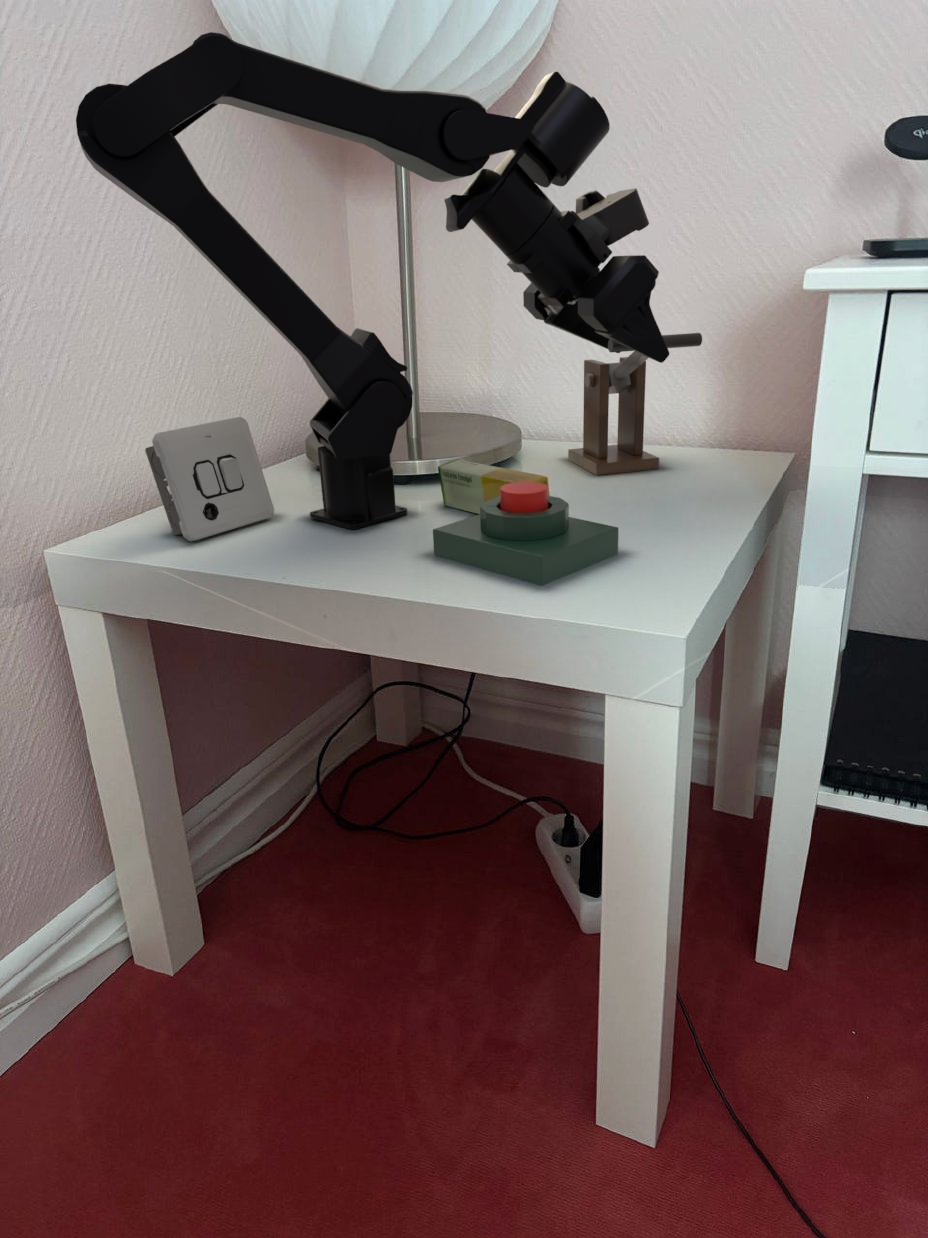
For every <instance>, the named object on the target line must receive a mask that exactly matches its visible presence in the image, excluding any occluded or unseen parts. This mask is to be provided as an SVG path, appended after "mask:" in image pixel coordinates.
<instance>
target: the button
mask: <svg viewBox="0 0 928 1238" xmlns="http://www.w3.org/2000/svg"><path fill="white" fill-rule="evenodd" d="M500 508H501V510H502V511H506V512H513V513H530V512H539V511H544V510H547V509H548V486H547V485H545V484H542V483H537V482H515V483H509V484H506V485H503V486H501V488H500Z"/></svg>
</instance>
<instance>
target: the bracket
mask: <svg viewBox="0 0 928 1238" xmlns="http://www.w3.org/2000/svg"><path fill="white" fill-rule="evenodd" d="M627 357H628V356H622V357H621V356H620V357H619V362H618V363H620V362H623V361H624V360H625V359H626V358H627ZM646 373H647V360H646V361H645V362H643V363H642V364H641V365H640V366H639V367H638V368H636V369H635V370H634V371H633V372H632V373H630V374H629V376H630V382H631V385H630V386H628V387H627V388H626V389H625V390H624V391H622V392H621V393H618V402H617V403H618V404H617V405H618V406H617V407H618V408H617V441H616V442H617V443H616V444H610V445H609V407H610V406H609V404H610V402H609V401H610V394H609V364H608V363H607V362H603V361H600V360H596V359H584V361H583V420H582V421H583V427H582V428H583V432H582V435H583V436H582V439H583V440H582V447H579V448H578V447H577V448H568V449H567V456H568V457H567V459H568V461H569V462H571V463H573V464H574V465H577V466H579V467H581V468H583V469H584V470H586V471H587V472H589V473H591V474H593V475H595V476H606V475H615V474H624V473H634V472H643V471H652V470H659V468H660V457H658V456H657V455H654V454H652V453H649V452H647V451H645V450H644V432H645V431H644V429H645V427H644V426H645V403H646V401H645V400H646V375H647V374H646Z"/></svg>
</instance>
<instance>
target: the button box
mask: <svg viewBox="0 0 928 1238" xmlns="http://www.w3.org/2000/svg"><path fill="white" fill-rule="evenodd" d="M619 531H620V530H619V526H615V525H610V524H604V523H600V522H595V521H591V520H586V519H581V518H576V517H571V516H570V505H569V503H568V502H567V501H566V500H564V499H562V498H561V497H558V496H552V495H550V496H548V509H547V510H544V511H539V512H530V513H513V512H506V511H502V510H501V508H500V497H497V498H494V499H491V500H487V501H485V502H484V503H483V504H482V506H481V507H480V514H477V515H474V516H469V517H466V518H463V519H461V520H458V521H454V522H451V523H448V524H445V525H442V526H438V527H436V528H433V529H432V541H433V542H432V543H433V555H434V556H435V557H438V558H442V559H445V560H449V561H452V562H456V563H459V564H463V565H466V566H469V567H473V568H477V569H481V570H483V571H486V572H491V573H494V574H497V575H500V576H501V575H502V576H505V577H508V578H512V579H515V580H519V581H521V582H526V583H529V584H533V585H536V586H540V587H543V586H545V585H548V584H550V583H553V582H555V581H557V580H560V579H562V578H565V577H567V576H569V575H571V574H574V573H576V572H577V573H578V572H579V571H582V570H584V569H587V568H588V567H591V566H593V565H595V564H598V563H601V562H603V561H605V560H607V559H610V558H613V557H615V556H617V555H619Z"/></svg>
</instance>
